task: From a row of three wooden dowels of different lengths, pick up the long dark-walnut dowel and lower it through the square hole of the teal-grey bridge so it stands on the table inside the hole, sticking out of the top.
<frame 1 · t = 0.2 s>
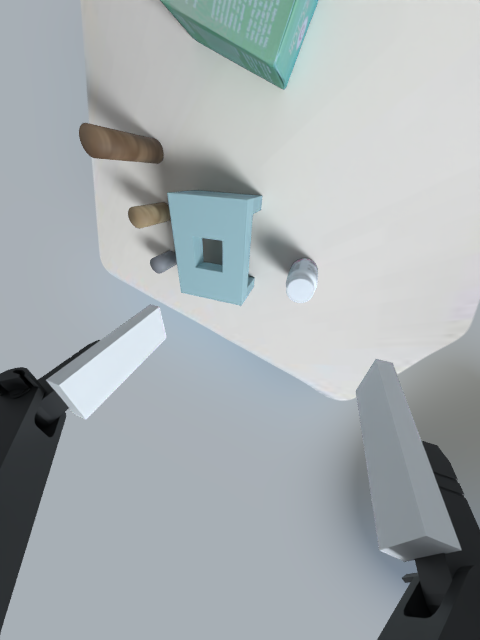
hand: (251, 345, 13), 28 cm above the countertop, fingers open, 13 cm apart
charcoal pin: (171, 258, 44), on the countertop
pill bottle: (304, 270, 37), on the countertop
bridge: (226, 242, 38), on the countertop
box: (253, 21, 23), on the countertop
oak pin: (164, 212, 39), on the countertop
walnut pin: (155, 151, 34), on the countertop
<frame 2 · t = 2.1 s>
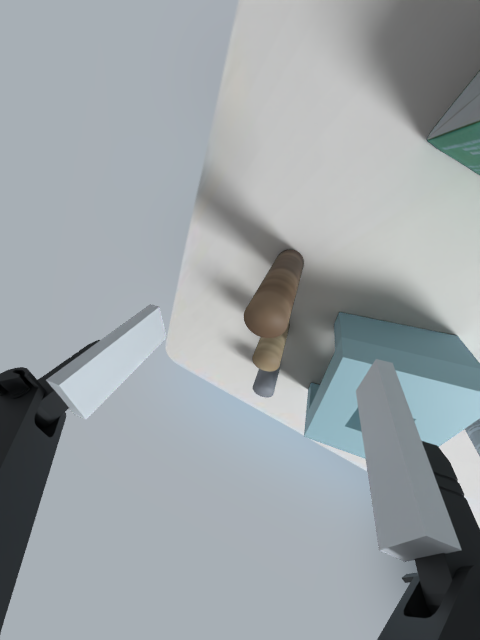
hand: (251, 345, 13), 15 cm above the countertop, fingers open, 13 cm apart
charcoal pin: (270, 366, 34), on the countertop
bridge: (366, 368, 28), on the countertop
oak pin: (278, 324, 29), on the countertop
walnut pin: (289, 263, 24), on the countertop
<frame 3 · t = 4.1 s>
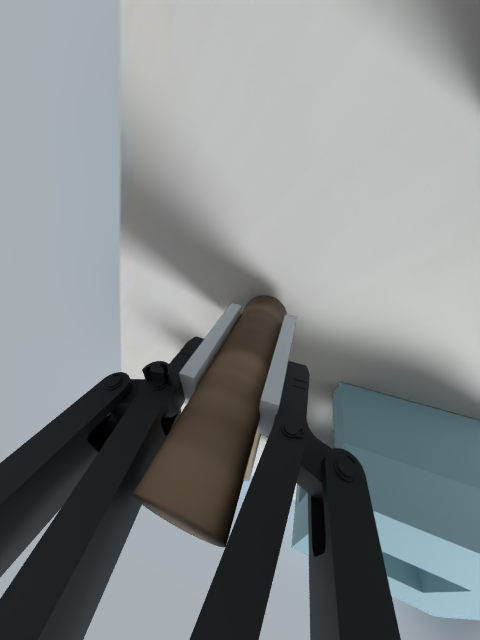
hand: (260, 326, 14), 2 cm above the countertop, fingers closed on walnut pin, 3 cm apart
bridge: (377, 450, 20), on the countertop
walnut pin: (265, 314, 15), on the countertop, touching gripper
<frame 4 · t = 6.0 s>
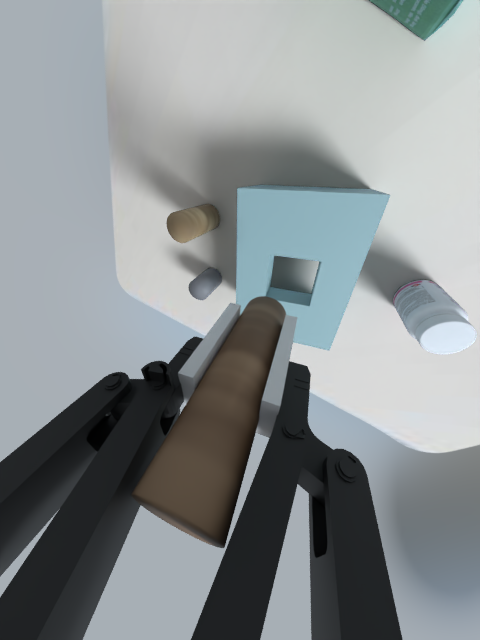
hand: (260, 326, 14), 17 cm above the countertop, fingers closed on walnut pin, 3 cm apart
charcoal pin: (212, 277, 34), on the countertop
pill bottle: (415, 296, 25), on the countertop
bridge: (298, 257, 27), on the countertop
oak pin: (209, 217, 28), on the countertop
walnut pin: (265, 315, 15), point 15 cm above the countertop, touching gripper
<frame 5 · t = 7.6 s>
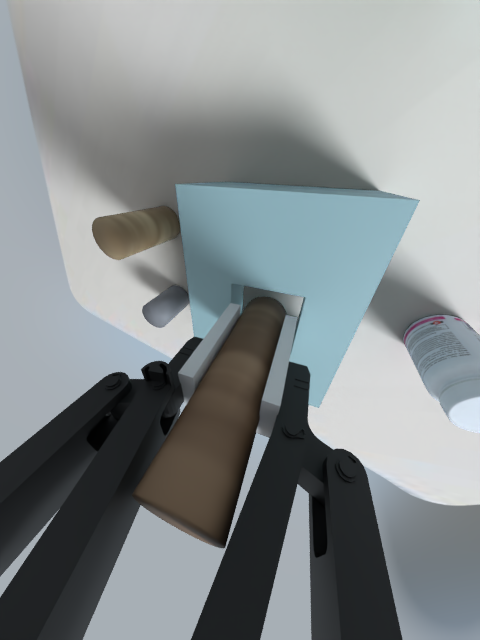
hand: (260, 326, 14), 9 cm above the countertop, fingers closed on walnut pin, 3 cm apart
charcoal pin: (178, 296, 27), on the countertop
pill bottle: (432, 333, 19), on the countertop
bridge: (281, 278, 21), on the countertop
oak pin: (166, 223, 22), on the countertop
walnut pin: (265, 315, 15), point 7 cm above the countertop, touching gripper
when the fingers open (9 cm above the countertop, at t = 8.2 s): walnut pin drops 6 cm, on the countertop.
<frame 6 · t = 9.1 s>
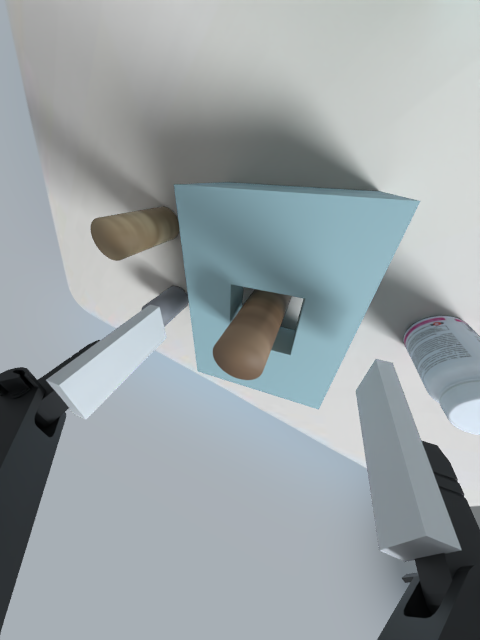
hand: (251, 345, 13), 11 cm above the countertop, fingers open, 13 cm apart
charcoal pin: (178, 297, 27), on the countertop
pill bottle: (433, 334, 19), on the countertop
bridge: (280, 279, 21), on the countertop
oak pin: (166, 223, 22), on the countertop
walnut pin: (280, 279, 21), on the countertop
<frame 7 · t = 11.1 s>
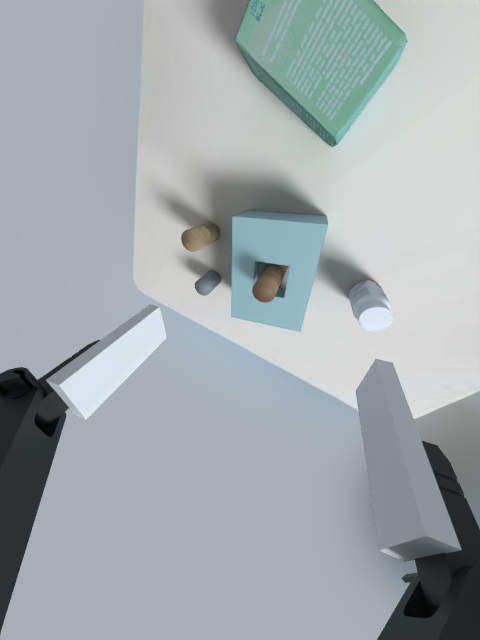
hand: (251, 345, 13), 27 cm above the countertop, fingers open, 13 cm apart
charcoal pin: (213, 278, 42), on the countertop
pill bottle: (364, 292, 34), on the countertop
bridge: (278, 263, 36), on the countertop
box: (316, 76, 23), on the countertop
oak pin: (211, 231, 37), on the countertop
walnut pin: (279, 263, 36), on the countertop
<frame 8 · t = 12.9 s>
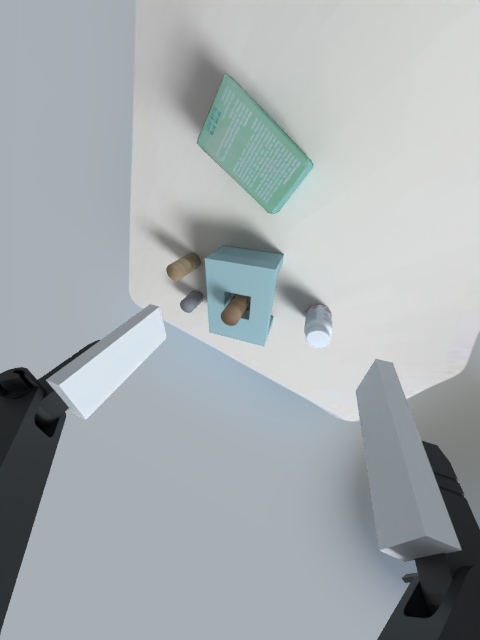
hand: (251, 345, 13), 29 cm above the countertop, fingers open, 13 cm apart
charcoal pin: (197, 296, 49), on the countertop
pill bottle: (318, 313, 41), on the countertop
bridge: (249, 287, 43), on the countertop
box: (265, 158, 30), on the countertop
oak pin: (193, 260, 44), on the countertop
walnut pin: (249, 287, 43), on the countertop
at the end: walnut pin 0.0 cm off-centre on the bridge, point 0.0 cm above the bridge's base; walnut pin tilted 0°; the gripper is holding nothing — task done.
